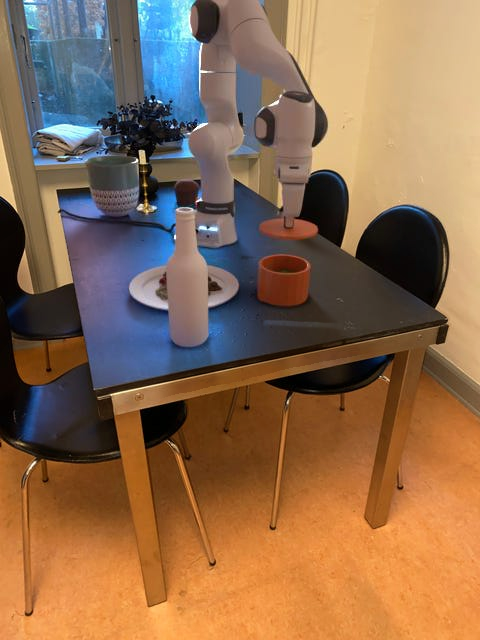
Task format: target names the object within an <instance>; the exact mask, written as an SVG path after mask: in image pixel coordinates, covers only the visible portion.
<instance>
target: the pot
mask: <svg viewBox="0 0 480 640" xmlns="http://www.w3.org/2000/svg"><path fill="white" fill-rule="evenodd" d="M283 270H284V271H290V272H291V273H279V272H281V271H283ZM310 276H311V263H310V262H309V261H308V259H305V258H304V257H300V256H297V255H292V254H271V255H267V256H264V257H262V258H261V259H259V261H258V273H257V293H256V295H257V299H258V300H259V301H260V302H264V303H267V304H270V305H274V306H279V307H292V306H298V305H301V304H302V303H304V302H306V301H307V299H308V296H309V288H310V278H311V277H310Z"/></svg>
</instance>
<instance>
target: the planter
mask: <svg viewBox="0 0 480 640" xmlns="http://www.w3.org/2000/svg"><path fill="white" fill-rule="evenodd" d="M84 166H85V171H86V176H87V180H88V185H89V189H90V190H89V191H90V195H91V198H92V201H93V203H94V206H95V207H96V208H97V209H98V210H99V211H100V212H101V213H102V214H104V215H106V216H108V217H113V218H119V217H125V216H127V215H129V214H130V213H132V212H133V211H134V210H135V208H136V207H137V205H138V203H139V197H140V177H139V176H140V175H139V159H138V158H137V157H133V156H130V155H129V156H127V155H100V156H99V155H98V156H93V157H89V158H87V159H85V160H84Z"/></svg>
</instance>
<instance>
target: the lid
mask: <svg viewBox="0 0 480 640" xmlns="http://www.w3.org/2000/svg"><path fill="white" fill-rule="evenodd" d="M285 222H286V216H284V219H281V218H273V219H268V220H265V221H262V222H261V223H260V224H259V227H258V229H259V232H260V233H261V234H263V235H264V236H268V237H270V238H275V239H280V240H292V241H293V240H294V241H295V240H304V239H310V238H312V237H315V236H316V235H317V234H318V233H319V228H318V226H317V225H316V224H314V223H312V222H310V221H307V220H304V219H296V218H294V219H293V226H292V227H286V226H285Z"/></svg>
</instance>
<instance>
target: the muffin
mask: <svg viewBox="0 0 480 640" xmlns="http://www.w3.org/2000/svg"><path fill="white" fill-rule="evenodd" d="M172 189H173V190H174V195H175V200H176V203H177V204H178V205H181V206H194V205H195V206H196V198H197V197H199V191H200V190H201V186H199V184H198V183H197V181H195V180H193V179H191V178H183V179H180V180H178V181H176V183H175V184H174V185H173V187H172Z"/></svg>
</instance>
